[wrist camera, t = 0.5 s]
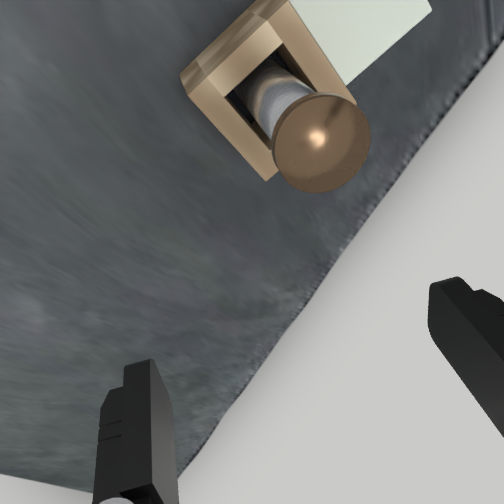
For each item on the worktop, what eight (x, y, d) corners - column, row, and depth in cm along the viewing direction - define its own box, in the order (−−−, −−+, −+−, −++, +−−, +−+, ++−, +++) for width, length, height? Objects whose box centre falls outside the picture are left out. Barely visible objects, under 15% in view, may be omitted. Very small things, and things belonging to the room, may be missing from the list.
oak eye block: (263, -8, 32) (288, 0, 27) (325, 82, 36) (356, 103, 32) (178, 74, 34) (187, 95, 29) (248, 151, 38) (265, 181, 33)
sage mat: (377, -95, 31) (381, -95, 30) (428, 9, 35) (432, 10, 35) (283, -6, 33) (285, -5, 32) (342, 83, 37) (345, 85, 36)
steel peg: (260, 28, 33) (337, 74, 21) (298, 81, 36) (387, 149, 24) (210, 76, 34) (255, 146, 22) (250, 123, 37) (312, 210, 25)
